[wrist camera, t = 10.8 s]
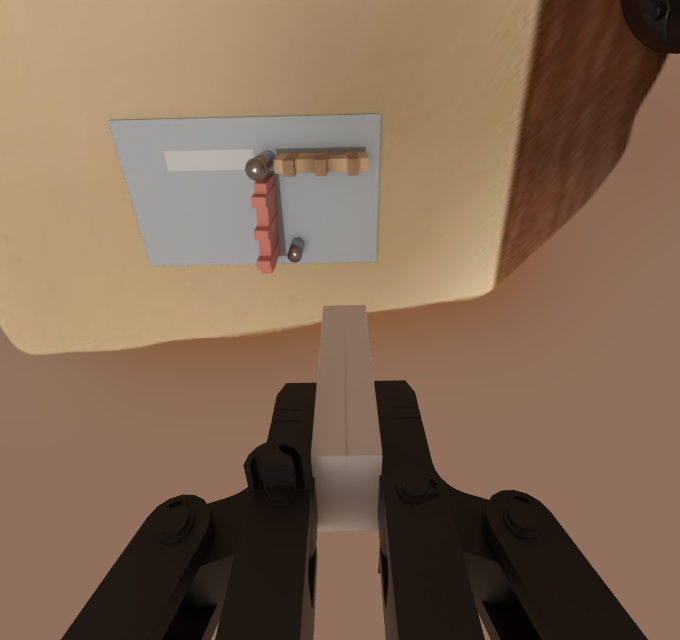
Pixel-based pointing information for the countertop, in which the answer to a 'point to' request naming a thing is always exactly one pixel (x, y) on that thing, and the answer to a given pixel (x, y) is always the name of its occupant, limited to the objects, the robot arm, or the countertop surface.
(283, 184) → the card
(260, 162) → the post
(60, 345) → the countertop surface
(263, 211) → the fence panel
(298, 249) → the peg
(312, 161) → the fence fixed
